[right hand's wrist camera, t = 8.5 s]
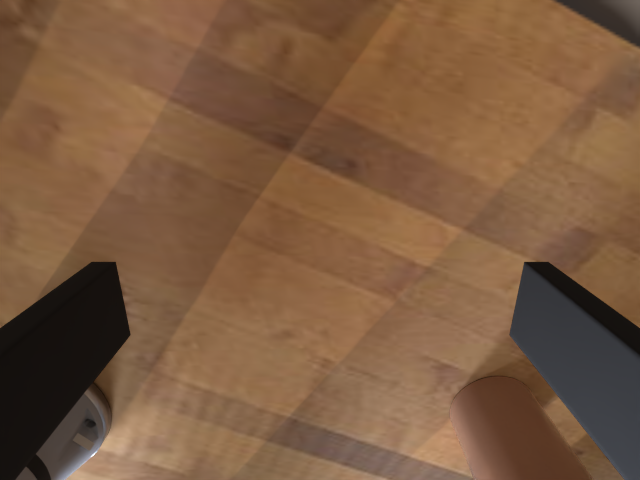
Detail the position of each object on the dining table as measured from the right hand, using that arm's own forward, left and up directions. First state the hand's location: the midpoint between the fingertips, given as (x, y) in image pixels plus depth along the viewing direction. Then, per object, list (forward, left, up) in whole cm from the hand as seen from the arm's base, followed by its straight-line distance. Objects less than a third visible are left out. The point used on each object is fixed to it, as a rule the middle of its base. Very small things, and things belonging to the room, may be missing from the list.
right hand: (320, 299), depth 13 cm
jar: (-9, -36, -26) cm, 45 cm away
